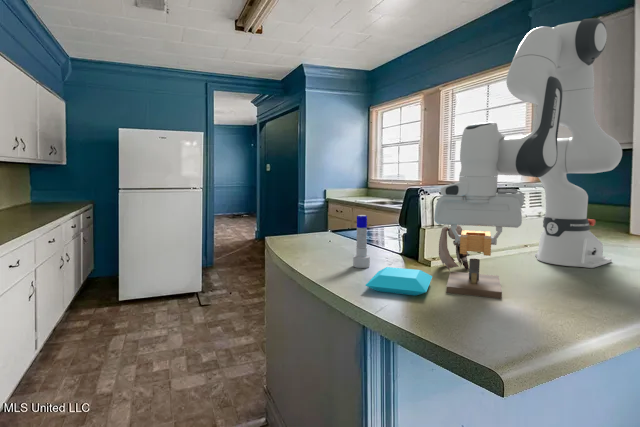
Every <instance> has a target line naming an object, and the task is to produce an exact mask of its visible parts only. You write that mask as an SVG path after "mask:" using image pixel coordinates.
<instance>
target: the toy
mask: <svg viewBox="0 0 640 427" xmlns="http://www.w3.org/2000/svg"><path fill="white" fill-rule="evenodd" d="M449 225H450V224H447V226H448V227H447V226H444V227H442V228H441V231H440V235H439V241H438V257H439V259H440V261H441V264H442V265H443V266H446V269H448V271H450V270H451V269H450V268H457V267H462V266H463V267H464V269H465V270H466V271H469V262H468V257H469V256H470V255H471V253H469V251H467V254H460V243H457V242H455V235H454V233H453V232H452V230H451V226H449ZM462 228H463V227H461V225H457V229H455V230H456V232H457V233H458V235H461V233H462V230H463V229H462ZM448 238H451V239H452V240H453V241H452V244H453V245H454V246H455V255H456V258H457V262H458V264H459V265H458V264H457V263H456V259H455V258H453V256H451V254H450V251H449V248H448Z"/></svg>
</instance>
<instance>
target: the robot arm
mask: <svg viewBox="0 0 640 427" xmlns="http://www.w3.org/2000/svg"><path fill="white" fill-rule="evenodd" d="M607 33H608V32H607V27H606V25H605V23H604V22H603V21H602V20H601V19H599V18H584V19H582V20H578V21H572V22H567V23H562V24H558V25H556V26H554V27H550V26H539V27H536V28H533V29H531V30H530V31H529V32H527V33H526V35H525V36H524V38H523V39H522V40H521V41H520V43H519V45H518V47H517V50H516V51H515V54H514V57H513V58H512V60H511V61H512V62H511V63H510V66H509V69H508V71H507V76H506V81H505V82H506V87H507V89H508V92H509V93H510V94H511V95H512V97H513V96H514V98H516V99H518V100H519V101H521V102H525V103H528V104H529V103H530V104H534V105H537V106H536V112H535V120H534V124H533V125H534V126H533V129H532V131H530V133H528V134H525V135H519V136H517V135H516V136H506V135H503V134H502V133H501V132H500V131H499V128H498V127H499V126H498V124H497V122H494V121H486V122H478V123H473V124H469V125H467V126H466V127H465V128H464V129H463V132H462V135H461V141H460V151H459V160H460V165H461V166H460V167H461V169H460V172H459V175H458V176H459V177H458V179H459V180H458V181H457V182H452V183H450V184H448V185H444V186H442V187H441V188H440V189H439V190H440V195H441V196H440V197H438V199H437V201H436V203H435V204H436V205H435V210H434V216H433V218H434V222H435V223H436V225H450V227H451V230H452V232H453V233H454V235H455V239H454V240H455V242H457V243H460V237H461V235H458V233H457V232H456V230H455V229H457V225H459V226H472V227H473V226H474V227H475V226H476V227H495V234H494V236H491V246H492V245H493V246H497V242H498V241H497V239H498V238H499V236H500V235H501V234H502V233H503V228H516V229H517V228H520V227H521V226H522V224H523V223H522V221H523V220H522V219H523V218H522V217H523V216H522V207H523V206H524V203H525V195H524V192H522V191H520V190H518V189H516V188H511V189H510V188H509V189H508V188H498V181H499V180H498V176H523V177H528V178H529V177H532V178H538V180H539V181H540V182H541V185H542V186H543V189H544V194H545V215H544V216H543V220H542V224H543V225H542V228H544V229H543V231H541V233H540V236H539V240H538V241H539V243H538V249H537V252H535V254H534V256H535V257H536V259H537V260H538V261H540V262H542V263H546V264H551V265H557V266H563V267H564V266H566V267H580V268H587V269H588V268H590V269H594V268H597V267H600V266H603V265H607V264H609V263H612V258H610V257H607V256H604V245H603V242H602V241H601V240H599V238H597V236H595V235H594V234H593V233H592V232H591V227H590V226H592V227H593V226H595V225H596V220H595V219H594V218H593V219H590V218H587V217H588V204H589V195H588V193H587V191H586V190H585V189H583V187H580V186H578V185H575V184H574V183H572V182H570V181H569V180H568V177H567V174H597V173H603V172H604V173H605V172H610V171H612V170H614V169H615V168H616V167H618V166H619V163H620V162H621V160H622V157H623V148H622V146H621V144H620V143H619V141H618V140H617V139H615V138H614V137H613V136H611V135H609V134H608V133H606V131H604V130H603V129H602V127H601V126H600V125H599V123H598V120H597V119H596V113H595V102H594V101H595V70H594V65H593V63H595V60H596V59H597V58H599V57H600V55H601V54H602V53H603V51H604V50H605V48H606V45H607V38H608V34H607ZM560 126H561V127H563V128H567V129H568V130H569V131H570V132H571V137H561V138H558V135H559V127H560Z"/></svg>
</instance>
